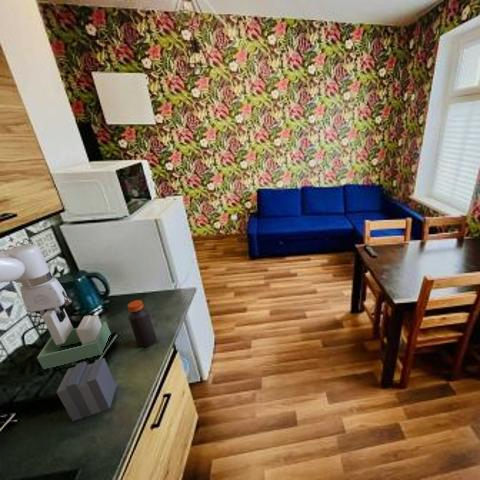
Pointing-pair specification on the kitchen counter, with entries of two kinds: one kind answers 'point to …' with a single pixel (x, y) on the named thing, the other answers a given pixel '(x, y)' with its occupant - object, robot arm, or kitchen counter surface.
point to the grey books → (87, 389)
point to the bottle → (141, 324)
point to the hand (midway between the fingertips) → (57, 320)
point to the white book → (57, 326)
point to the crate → (72, 349)
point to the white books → (89, 329)
